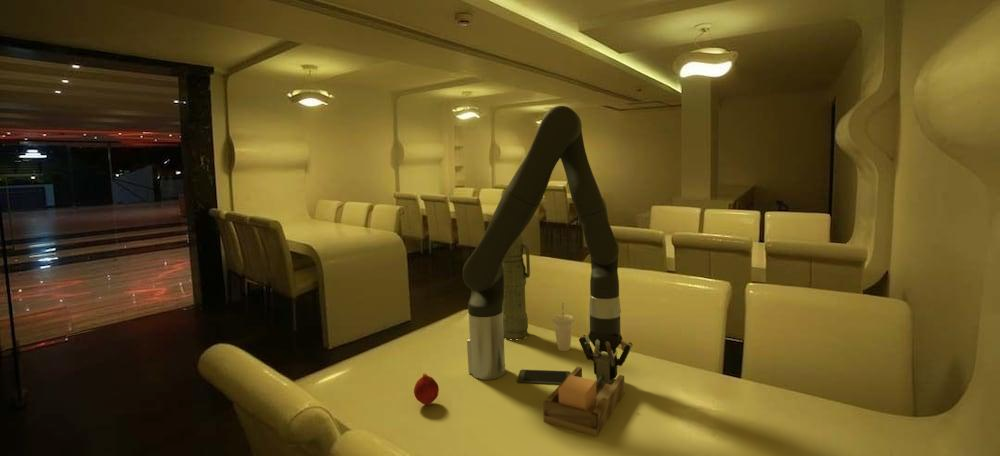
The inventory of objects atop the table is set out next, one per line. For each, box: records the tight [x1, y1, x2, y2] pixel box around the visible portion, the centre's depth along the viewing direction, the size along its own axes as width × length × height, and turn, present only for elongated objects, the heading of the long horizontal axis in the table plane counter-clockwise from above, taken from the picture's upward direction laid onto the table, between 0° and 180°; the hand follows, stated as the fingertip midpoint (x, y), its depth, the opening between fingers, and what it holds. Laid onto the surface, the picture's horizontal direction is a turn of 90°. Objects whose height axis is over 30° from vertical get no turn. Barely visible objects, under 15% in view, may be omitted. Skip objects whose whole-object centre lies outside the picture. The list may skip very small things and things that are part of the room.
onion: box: [413, 372, 440, 406], centre depth 109 cm, size 6×6×8 cm
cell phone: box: [516, 368, 572, 386], centre depth 121 cm, size 7×14×1 cm, turn 80°
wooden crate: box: [542, 366, 625, 437], centre depth 105 cm, size 20×12×4 cm, turn 149°
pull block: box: [558, 352, 612, 412], centre depth 109 cm, size 25×6×7 cm, turn 149°
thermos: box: [502, 233, 531, 341], centre depth 150 cm, size 9×12×35 cm
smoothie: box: [552, 302, 575, 352], centre depth 139 cm, size 6×6×14 cm
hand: (605, 377), depth 117 cm, fingers closed on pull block, 3 cm apart
